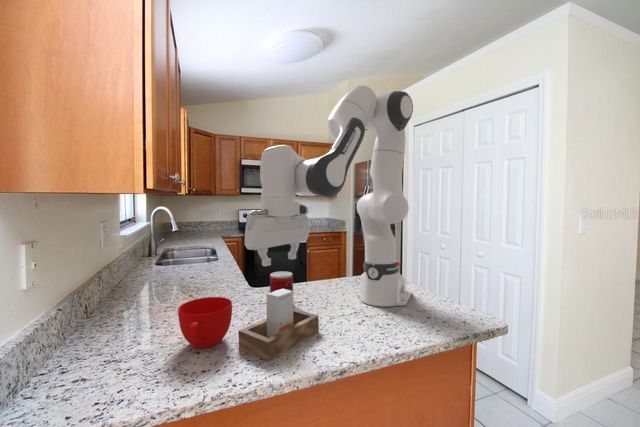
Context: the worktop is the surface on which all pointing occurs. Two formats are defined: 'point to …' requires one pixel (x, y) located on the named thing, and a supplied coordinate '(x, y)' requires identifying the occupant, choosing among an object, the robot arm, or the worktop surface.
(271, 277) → the canned food
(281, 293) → the skincare box
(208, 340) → the ceramic cup
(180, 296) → the worktop surface
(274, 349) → the brown hollow rectangular tray
